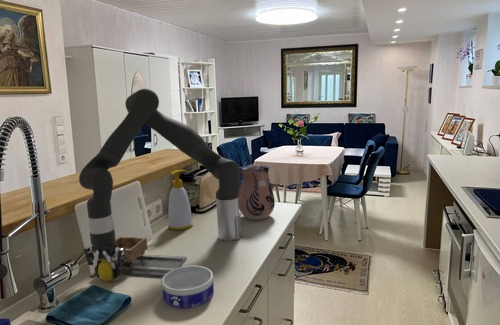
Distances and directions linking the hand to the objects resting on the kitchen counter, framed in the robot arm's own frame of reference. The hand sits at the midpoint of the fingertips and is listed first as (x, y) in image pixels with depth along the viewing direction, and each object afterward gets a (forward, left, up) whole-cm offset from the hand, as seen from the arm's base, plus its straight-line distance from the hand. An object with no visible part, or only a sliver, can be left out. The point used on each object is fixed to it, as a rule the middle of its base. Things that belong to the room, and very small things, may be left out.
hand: (107, 277), depth 123 cm
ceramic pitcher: (-35, -67, -2) cm, 76 cm away
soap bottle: (-4, -52, -2) cm, 52 cm away
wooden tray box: (0, -12, +1) cm, 12 cm away
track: (-6, -12, -1) cm, 13 cm away
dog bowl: (-30, +4, -2) cm, 30 cm away
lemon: (0, 0, -2) cm, 2 cm away
